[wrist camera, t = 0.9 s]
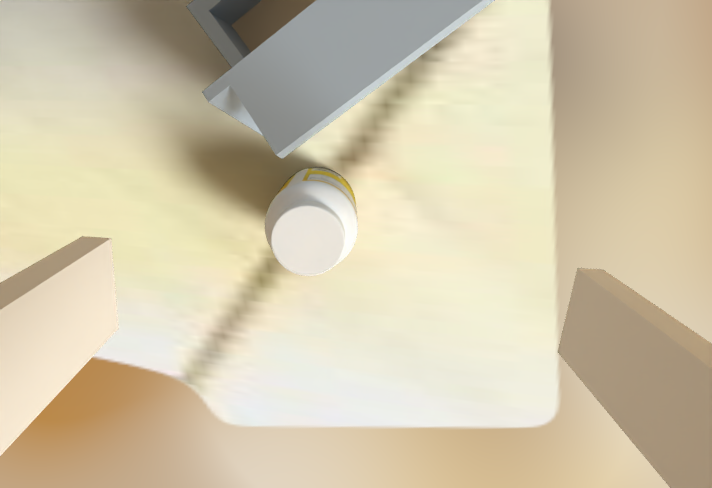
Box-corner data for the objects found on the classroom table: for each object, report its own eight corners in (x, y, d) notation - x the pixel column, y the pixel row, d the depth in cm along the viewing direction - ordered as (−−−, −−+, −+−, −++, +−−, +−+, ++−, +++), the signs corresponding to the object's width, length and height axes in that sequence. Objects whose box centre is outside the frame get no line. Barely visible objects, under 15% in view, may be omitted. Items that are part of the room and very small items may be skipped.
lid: (198, 86, 22) (253, 172, 21) (508, -163, 19) (581, -74, 19) (279, 139, 32) (317, 198, 31) (489, -20, 29) (537, 41, 29)
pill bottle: (282, 240, 42) (258, 291, 31) (278, 166, 40) (250, 191, 29) (356, 238, 42) (359, 289, 31) (355, 164, 40) (358, 189, 29)
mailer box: (216, 23, 36) (186, 6, 30) (387, -118, 34) (396, -172, 27) (295, 132, 39) (284, 138, 32) (460, 7, 36) (486, -14, 30)
